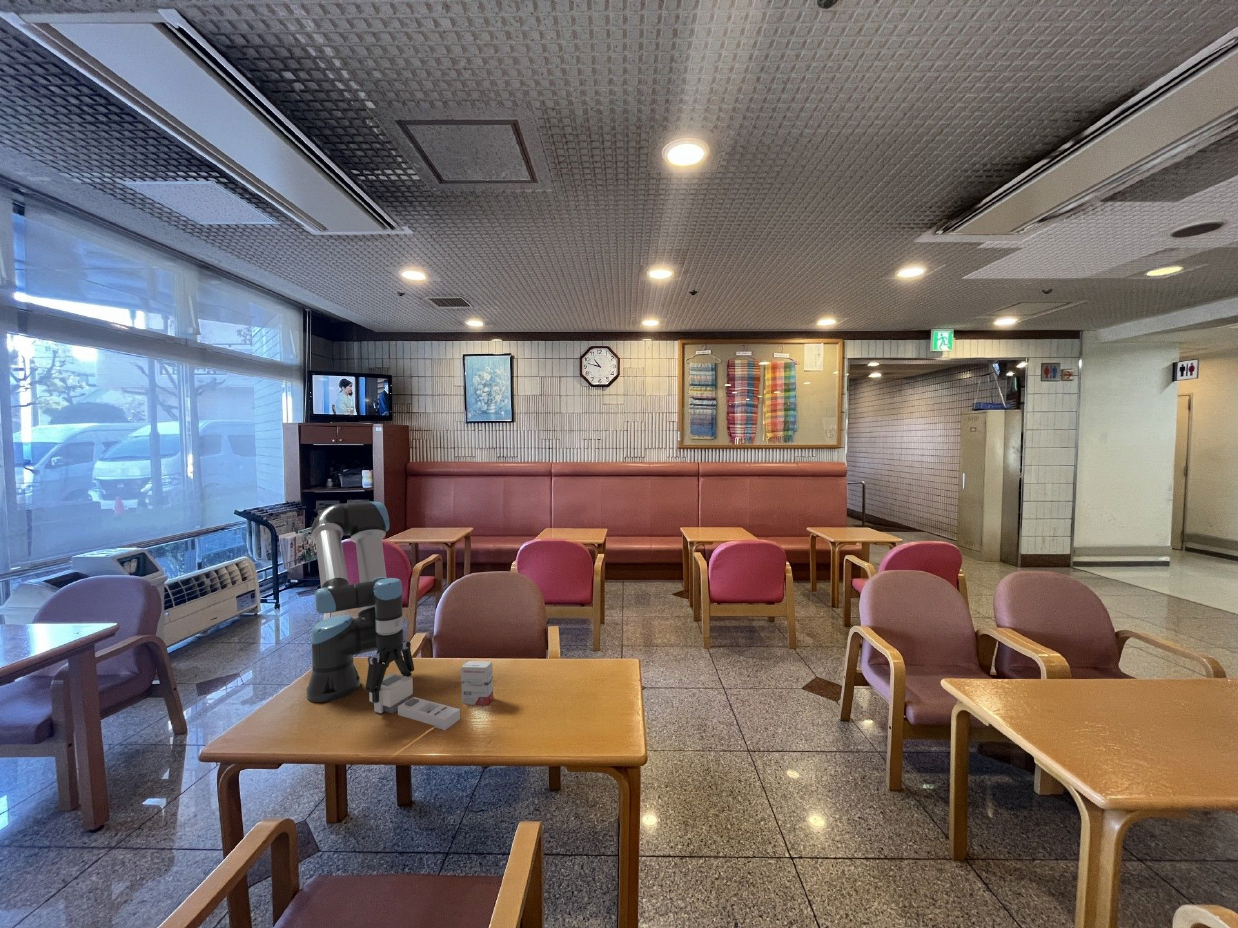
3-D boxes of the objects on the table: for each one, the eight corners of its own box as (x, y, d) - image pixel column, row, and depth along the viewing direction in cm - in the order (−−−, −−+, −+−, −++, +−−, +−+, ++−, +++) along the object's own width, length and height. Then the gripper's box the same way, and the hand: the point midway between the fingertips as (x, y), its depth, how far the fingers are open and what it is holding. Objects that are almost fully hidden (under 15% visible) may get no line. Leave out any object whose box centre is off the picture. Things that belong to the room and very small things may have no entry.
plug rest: (373, 709, 149) (373, 699, 149) (390, 699, 155) (390, 690, 155) (393, 714, 146) (392, 704, 146) (409, 705, 151) (409, 695, 151)
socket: (398, 716, 145) (397, 704, 145) (414, 706, 151) (413, 694, 150) (444, 730, 138) (444, 717, 138) (460, 719, 143) (459, 706, 143)
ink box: (494, 697, 155) (493, 660, 155) (488, 705, 151) (487, 667, 150) (467, 696, 156) (466, 659, 156) (461, 704, 151) (460, 666, 151)
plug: (369, 709, 148) (368, 682, 148) (393, 696, 156) (392, 671, 156) (390, 715, 145) (389, 688, 144) (413, 701, 152) (412, 675, 152)
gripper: (367, 645, 138) (369, 724, 139) (425, 620, 158) (427, 690, 158) (349, 641, 141) (351, 719, 142) (408, 617, 161) (410, 686, 162)
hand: (391, 704), depth 150 cm, fingers closed on plug, 8 cm apart
